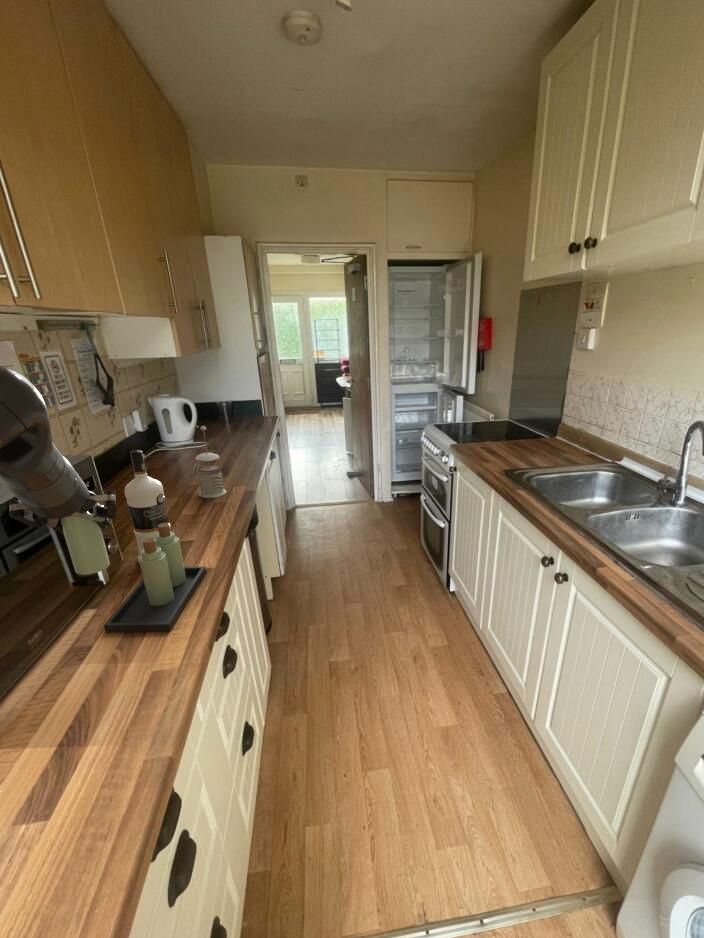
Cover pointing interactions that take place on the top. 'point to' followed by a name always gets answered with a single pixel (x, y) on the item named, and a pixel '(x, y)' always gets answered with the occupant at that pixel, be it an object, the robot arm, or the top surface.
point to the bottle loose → (85, 544)
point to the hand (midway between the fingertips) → (84, 525)
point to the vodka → (145, 502)
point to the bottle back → (171, 553)
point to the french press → (209, 475)
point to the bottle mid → (155, 574)
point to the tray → (154, 607)
